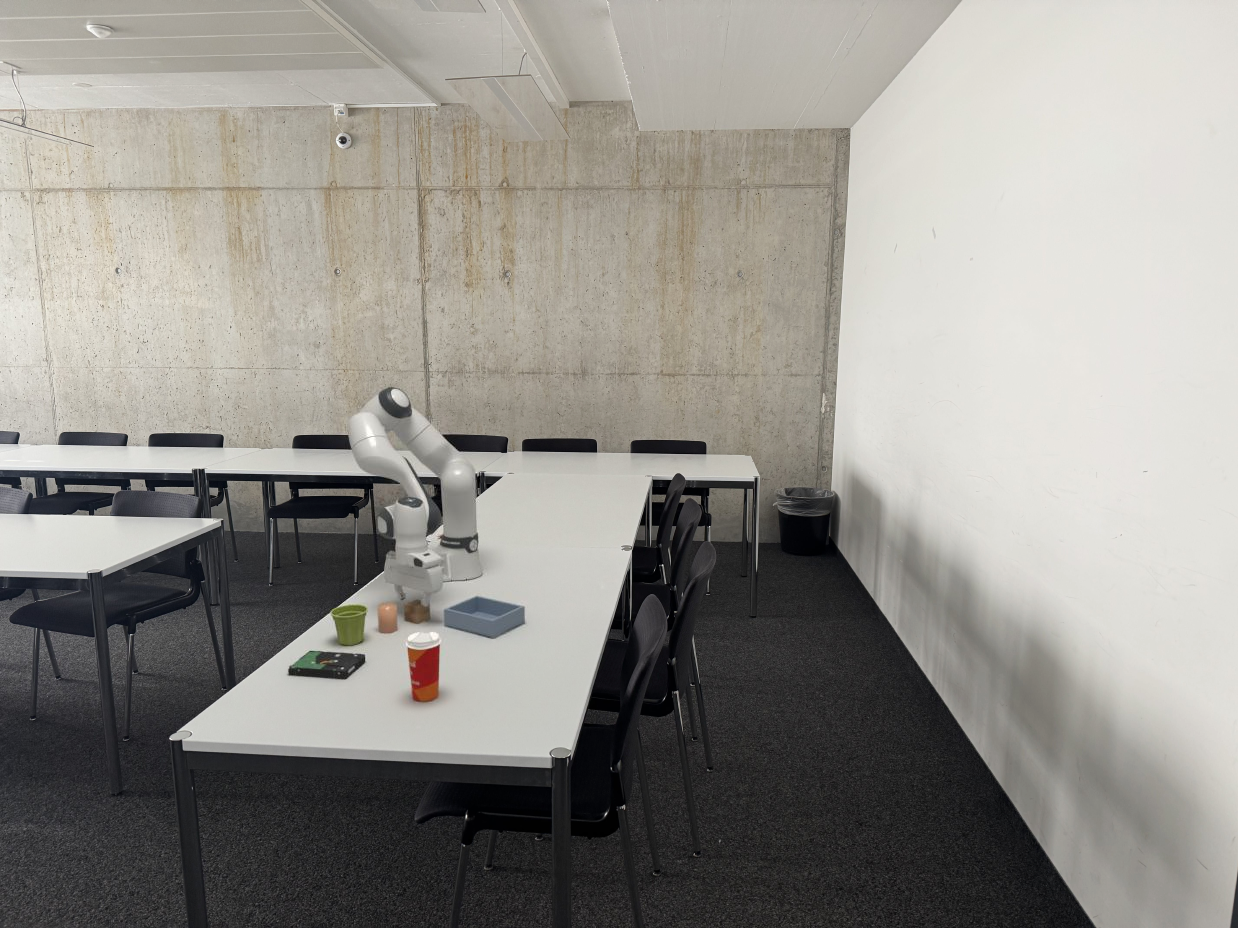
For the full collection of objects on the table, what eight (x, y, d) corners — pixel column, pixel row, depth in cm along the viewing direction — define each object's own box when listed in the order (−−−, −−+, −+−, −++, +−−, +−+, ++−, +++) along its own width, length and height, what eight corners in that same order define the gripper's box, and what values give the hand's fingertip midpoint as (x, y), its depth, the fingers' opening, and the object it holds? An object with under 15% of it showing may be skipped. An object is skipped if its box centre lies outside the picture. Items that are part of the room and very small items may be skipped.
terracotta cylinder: (374, 631, 214) (373, 606, 213) (388, 625, 218) (387, 601, 217) (387, 634, 211) (386, 610, 210) (401, 628, 215) (400, 604, 214)
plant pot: (334, 650, 200) (333, 618, 199) (329, 638, 208) (328, 607, 207) (372, 644, 204) (370, 612, 203) (366, 632, 212) (364, 602, 211)
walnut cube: (404, 621, 222) (404, 604, 221) (417, 615, 226) (417, 599, 225) (417, 624, 219) (416, 607, 218) (430, 619, 223) (429, 602, 223)
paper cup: (411, 689, 178) (408, 630, 176) (445, 688, 179) (443, 629, 177) (404, 704, 171) (402, 644, 168) (440, 703, 171) (438, 643, 169)
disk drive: (366, 664, 194) (310, 660, 195) (365, 653, 193) (309, 649, 195) (346, 682, 183) (287, 677, 185) (345, 670, 183) (286, 666, 185)
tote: (444, 626, 217) (443, 609, 217) (477, 611, 229) (476, 595, 228) (493, 638, 208) (492, 620, 208) (524, 623, 220) (524, 606, 219)
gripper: (377, 552, 222) (379, 598, 224) (429, 563, 212) (430, 612, 214) (394, 547, 228) (396, 592, 230) (446, 558, 217) (447, 606, 219)
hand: (413, 602), depth 222 cm, fingers open, 8 cm apart
